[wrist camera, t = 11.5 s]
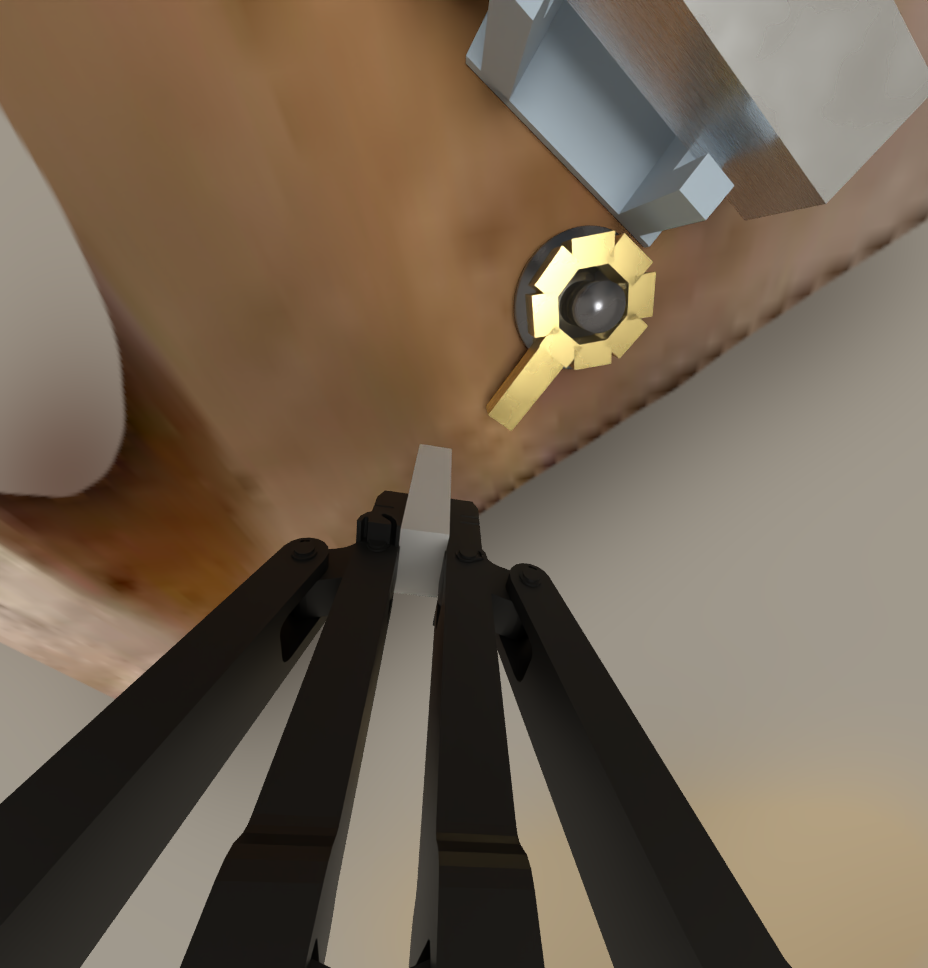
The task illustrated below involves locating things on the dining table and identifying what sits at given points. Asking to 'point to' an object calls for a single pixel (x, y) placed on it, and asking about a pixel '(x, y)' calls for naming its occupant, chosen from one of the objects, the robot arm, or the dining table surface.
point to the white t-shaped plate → (770, 86)
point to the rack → (593, 116)
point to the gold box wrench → (550, 342)
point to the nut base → (573, 294)
